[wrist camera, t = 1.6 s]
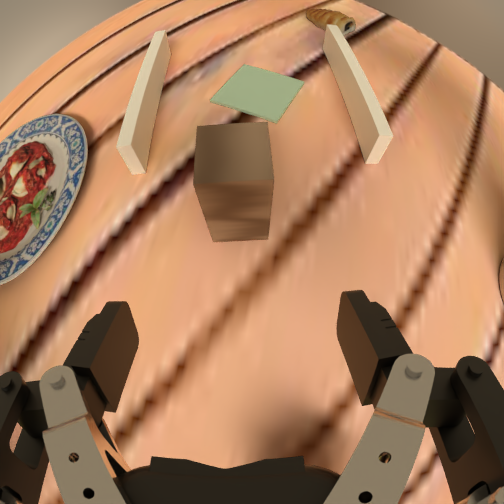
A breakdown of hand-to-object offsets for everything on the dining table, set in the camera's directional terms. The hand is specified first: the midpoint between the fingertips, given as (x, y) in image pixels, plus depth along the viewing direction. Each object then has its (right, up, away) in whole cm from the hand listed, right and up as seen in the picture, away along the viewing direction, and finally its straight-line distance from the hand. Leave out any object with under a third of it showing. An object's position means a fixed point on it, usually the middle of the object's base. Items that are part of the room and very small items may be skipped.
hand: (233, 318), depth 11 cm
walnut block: (0, +6, +18) cm, 19 cm away
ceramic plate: (-31, +10, +20) cm, 38 cm away
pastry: (+15, +44, +31) cm, 56 cm away
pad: (+2, +23, +24) cm, 33 cm away
